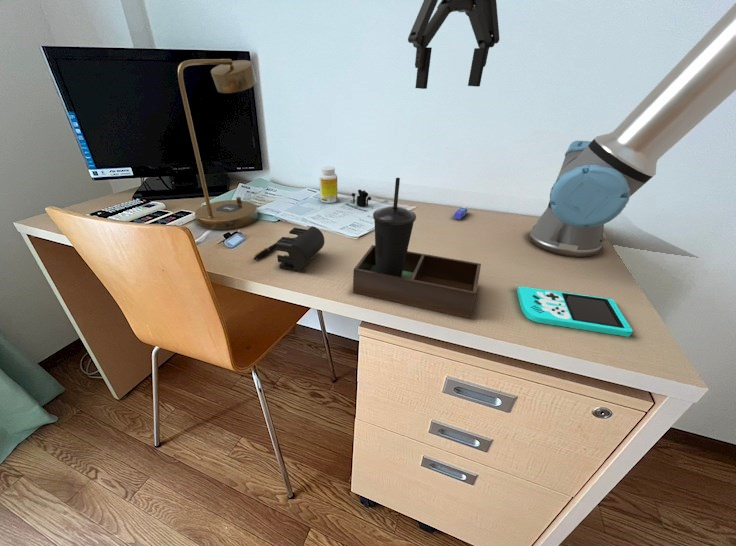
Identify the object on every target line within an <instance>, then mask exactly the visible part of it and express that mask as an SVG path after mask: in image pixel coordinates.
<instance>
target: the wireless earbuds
mask: <svg viewBox="0 0 736 546" xmlns="http://www.w3.org/2000/svg"><path fill="white" fill-rule="evenodd" d="M357 193H358V195H357V196H356V193H355V192H352V193H351V197H353V198H352V203H353V204H355V203H356V205H357V206H358V207H361V208H365V207H368V206H369V201H371V200H372V197H371V196H369V193H368V192H367V191H366V190H362V189H357ZM355 198H356V199H355ZM355 200H356V201H355Z"/></svg>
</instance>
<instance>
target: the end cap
mask: <svg viewBox="0 0 736 546" xmlns="http://www.w3.org/2000/svg"><path fill="white" fill-rule="evenodd" d="M288 233H289V235H296V237H290V238H287V237H288V236H282V237H281V238H280V239H278V240H277V241H276V242H275V243H276V248H275V249H276V251H278V252H285V253H287V254H288V255H286V254H284V255H282V254H278V255H277V256H276V257H277V262H278V263H279V264H278V265H279V266H278V267H279V268H280V269H282V270H287V271H291V272H298V271H300V270H302V269H303V268H304V267H305V266H306V265H307V264H308V263H309V262H310V261H311V260H312V259H313V258H314V257H315V256H316V255H317V254H318V253H319V252H320V251H321V250H322V249H323V247H324V246H325V236H324V234H323V232H322V231H321V230H320V229H319V228H318V227H316V226H313V225H311V226H309V228H308V229H306V228H301V227H293V228H291V230H289V231H288Z"/></svg>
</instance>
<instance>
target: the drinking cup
mask: <svg viewBox="0 0 736 546" xmlns="http://www.w3.org/2000/svg"><path fill="white" fill-rule="evenodd" d="M400 181H401V178H400V177H396V178H395V182H394V183H395V184H394V194H393V195H394V196H393V204H392V205H391V206H384V207H382V208H379V209H377V210H374V212H373V213H372V219H373V220H374V245H375V254H376V272H378V273H383V274H388V275H393V276H398V277H401V276H402V272H403V267H404V263H405V259H406V254H407V251H409V250H408V249H409V245H410V241H411V236H412V233H413V232H412V231H413V228H414V224H415V222H416V220H417V214H416V213H415V212H414V211H412V210H410V209H408V208H405V207H402V206H399V205H398V204H399V203H398V202H399V192H400Z"/></svg>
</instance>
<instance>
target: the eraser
mask: <svg viewBox="0 0 736 546" xmlns="http://www.w3.org/2000/svg"><path fill="white" fill-rule="evenodd" d="M468 210H469V207H467V206H461V207H460V208H458V209H457V210H456V211H455V212H454V216H453V219H455V220H459V221H460V220H461V219H463V217H464V216H466V215H467V213H468Z"/></svg>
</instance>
